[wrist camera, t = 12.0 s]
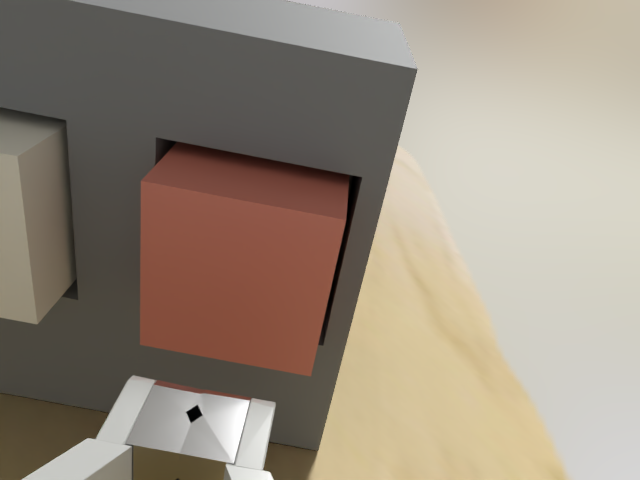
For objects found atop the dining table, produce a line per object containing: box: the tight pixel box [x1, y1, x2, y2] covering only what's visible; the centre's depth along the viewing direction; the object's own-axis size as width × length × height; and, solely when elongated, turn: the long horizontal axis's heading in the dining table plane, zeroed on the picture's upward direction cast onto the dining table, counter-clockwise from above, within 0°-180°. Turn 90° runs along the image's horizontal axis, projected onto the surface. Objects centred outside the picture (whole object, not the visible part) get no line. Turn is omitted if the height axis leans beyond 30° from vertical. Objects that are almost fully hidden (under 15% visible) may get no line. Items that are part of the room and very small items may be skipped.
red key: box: [140, 142, 349, 376], centre depth 15 cm, size 5×3×5 cm, turn 85°
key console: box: [0, 0, 417, 451], centre depth 20 cm, size 15×8×14 cm, turn 85°
